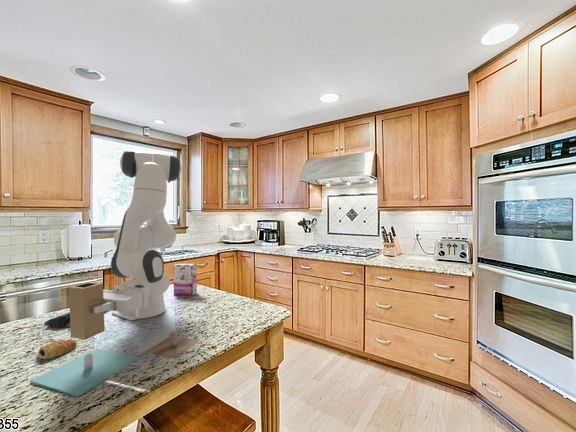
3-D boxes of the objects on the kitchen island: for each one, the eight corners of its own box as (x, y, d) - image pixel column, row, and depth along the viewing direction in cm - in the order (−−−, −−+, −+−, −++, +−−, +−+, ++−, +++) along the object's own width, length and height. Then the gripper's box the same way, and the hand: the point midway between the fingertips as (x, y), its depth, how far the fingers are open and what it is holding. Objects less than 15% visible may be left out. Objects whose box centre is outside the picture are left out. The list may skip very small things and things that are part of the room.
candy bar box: (197, 293, 150) (196, 263, 150) (192, 296, 145) (192, 265, 145) (178, 292, 152) (178, 262, 151) (173, 295, 147) (172, 264, 147)
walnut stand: (144, 353, 87) (144, 336, 87) (171, 337, 98) (171, 321, 98) (175, 360, 83) (175, 342, 83) (199, 341, 95) (199, 325, 95)
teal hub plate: (30, 383, 73) (29, 365, 72) (96, 349, 90) (96, 335, 90) (77, 397, 67) (77, 378, 67) (139, 359, 84) (138, 343, 84)
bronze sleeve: (70, 337, 76) (68, 287, 76) (90, 328, 81) (89, 282, 81) (84, 339, 74) (83, 288, 74) (104, 331, 80) (102, 283, 79)
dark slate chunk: (116, 310, 126) (116, 300, 126) (67, 331, 105) (67, 318, 105) (90, 307, 130) (90, 297, 130) (38, 326, 109) (37, 315, 109)
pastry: (70, 344, 94) (70, 333, 94) (81, 348, 91) (80, 337, 91) (35, 357, 86) (35, 345, 86) (46, 362, 83) (45, 350, 83)
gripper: (103, 283, 93) (58, 295, 80) (150, 287, 87) (110, 301, 74) (104, 301, 93) (59, 316, 80) (151, 307, 87) (111, 324, 74)
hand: (84, 309), depth 77 cm, fingers closed on bronze sleeve, 6 cm apart
